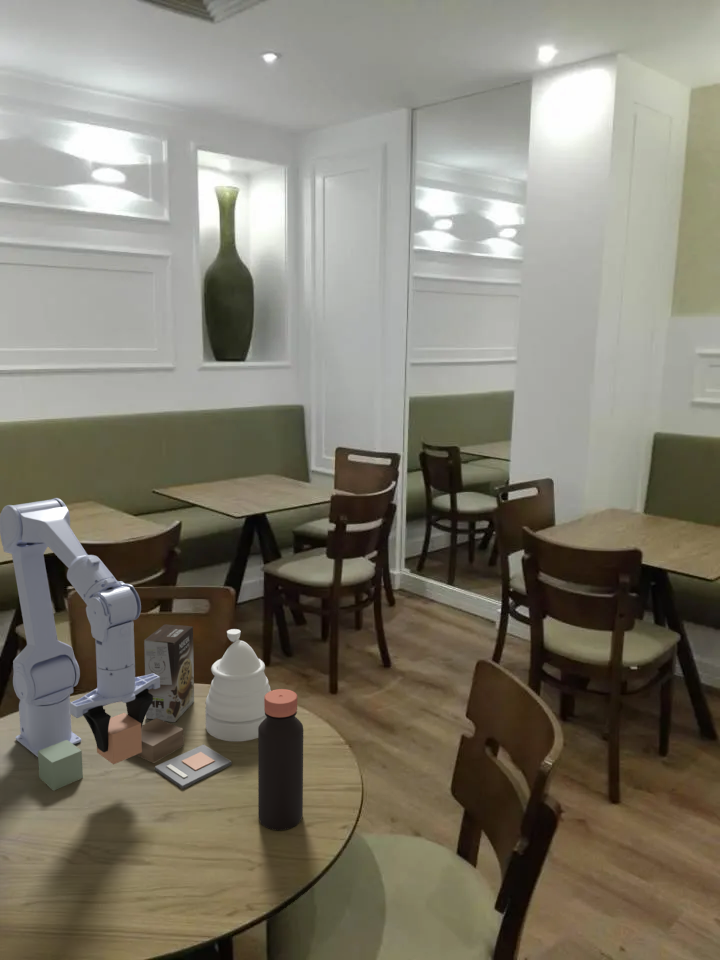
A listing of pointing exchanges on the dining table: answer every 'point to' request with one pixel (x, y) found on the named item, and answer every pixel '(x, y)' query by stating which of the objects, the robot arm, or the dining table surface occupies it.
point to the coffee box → (170, 671)
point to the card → (192, 766)
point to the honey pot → (236, 693)
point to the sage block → (60, 764)
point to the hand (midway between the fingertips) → (118, 742)
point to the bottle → (280, 762)
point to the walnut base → (160, 739)
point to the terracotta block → (122, 738)
